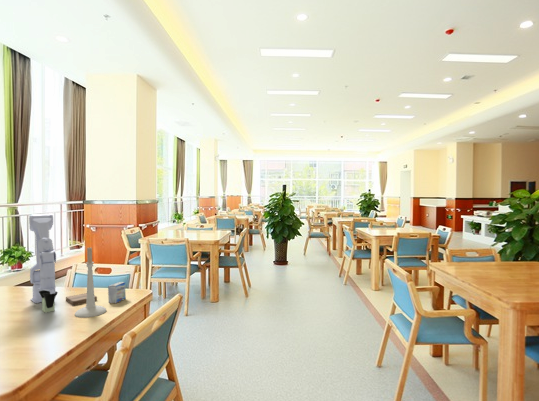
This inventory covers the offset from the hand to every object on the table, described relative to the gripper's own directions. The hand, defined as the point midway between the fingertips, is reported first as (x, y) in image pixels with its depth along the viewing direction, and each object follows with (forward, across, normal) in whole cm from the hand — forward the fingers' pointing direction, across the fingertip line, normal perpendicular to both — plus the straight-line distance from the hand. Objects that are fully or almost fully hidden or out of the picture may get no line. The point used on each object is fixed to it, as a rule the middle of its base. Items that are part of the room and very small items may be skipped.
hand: (48, 306), depth 163 cm
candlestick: (+2, +18, +12) cm, 22 cm away
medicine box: (+2, +9, +28) cm, 29 cm away
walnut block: (+2, -5, +16) cm, 17 cm away
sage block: (+2, 0, 0) cm, 2 cm away
